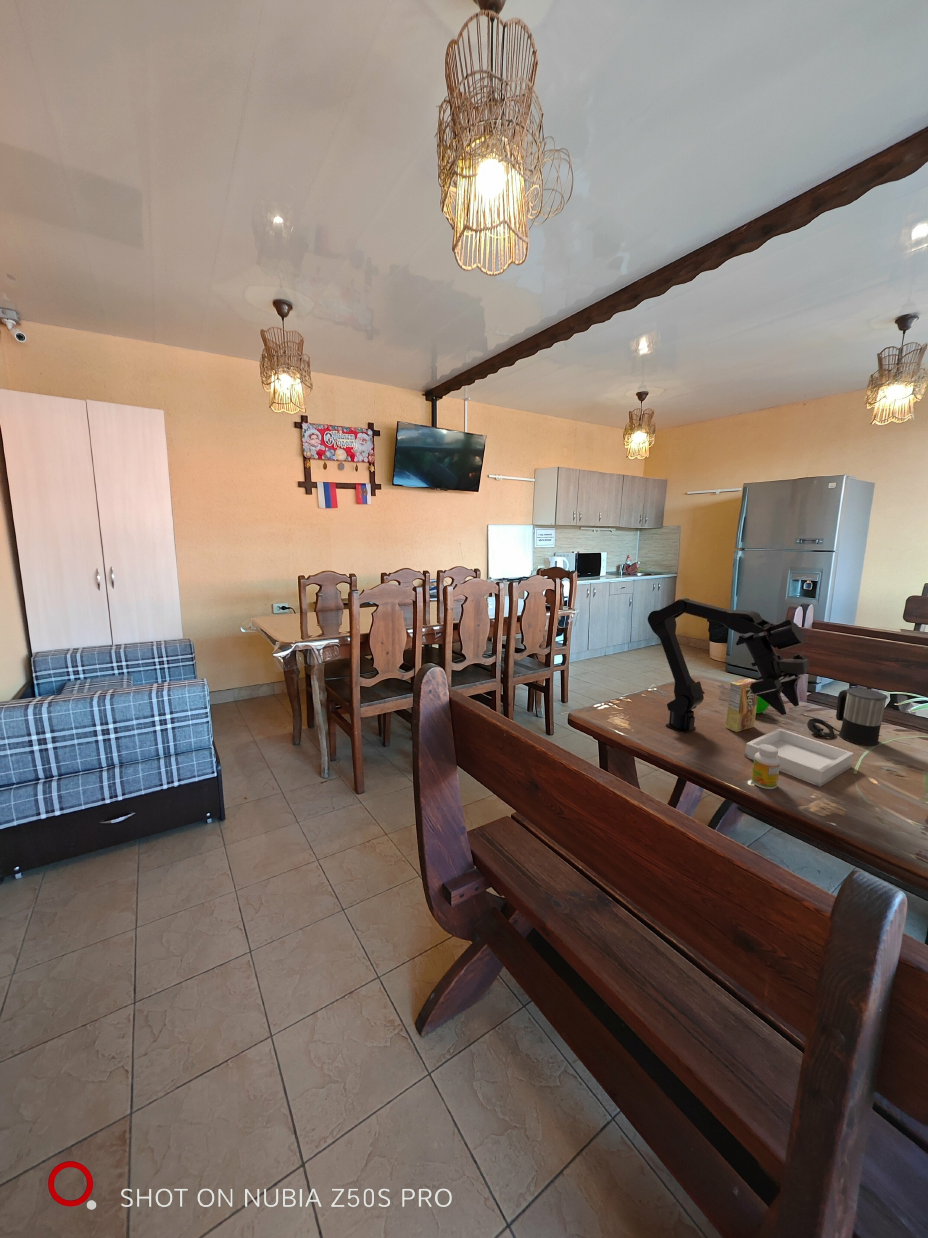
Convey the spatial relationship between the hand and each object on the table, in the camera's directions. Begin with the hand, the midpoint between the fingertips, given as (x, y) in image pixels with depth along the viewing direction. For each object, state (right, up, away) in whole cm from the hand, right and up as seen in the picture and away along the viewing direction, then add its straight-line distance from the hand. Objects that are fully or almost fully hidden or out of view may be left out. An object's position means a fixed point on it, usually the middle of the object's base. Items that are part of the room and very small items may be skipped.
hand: (790, 710), depth 121 cm
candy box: (+2, -11, +25) cm, 27 cm away
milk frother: (+28, -12, +18) cm, 35 cm away
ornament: (+13, -8, +36) cm, 40 cm away
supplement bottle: (-12, -17, -7) cm, 22 cm away
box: (+4, -15, +3) cm, 16 cm away
